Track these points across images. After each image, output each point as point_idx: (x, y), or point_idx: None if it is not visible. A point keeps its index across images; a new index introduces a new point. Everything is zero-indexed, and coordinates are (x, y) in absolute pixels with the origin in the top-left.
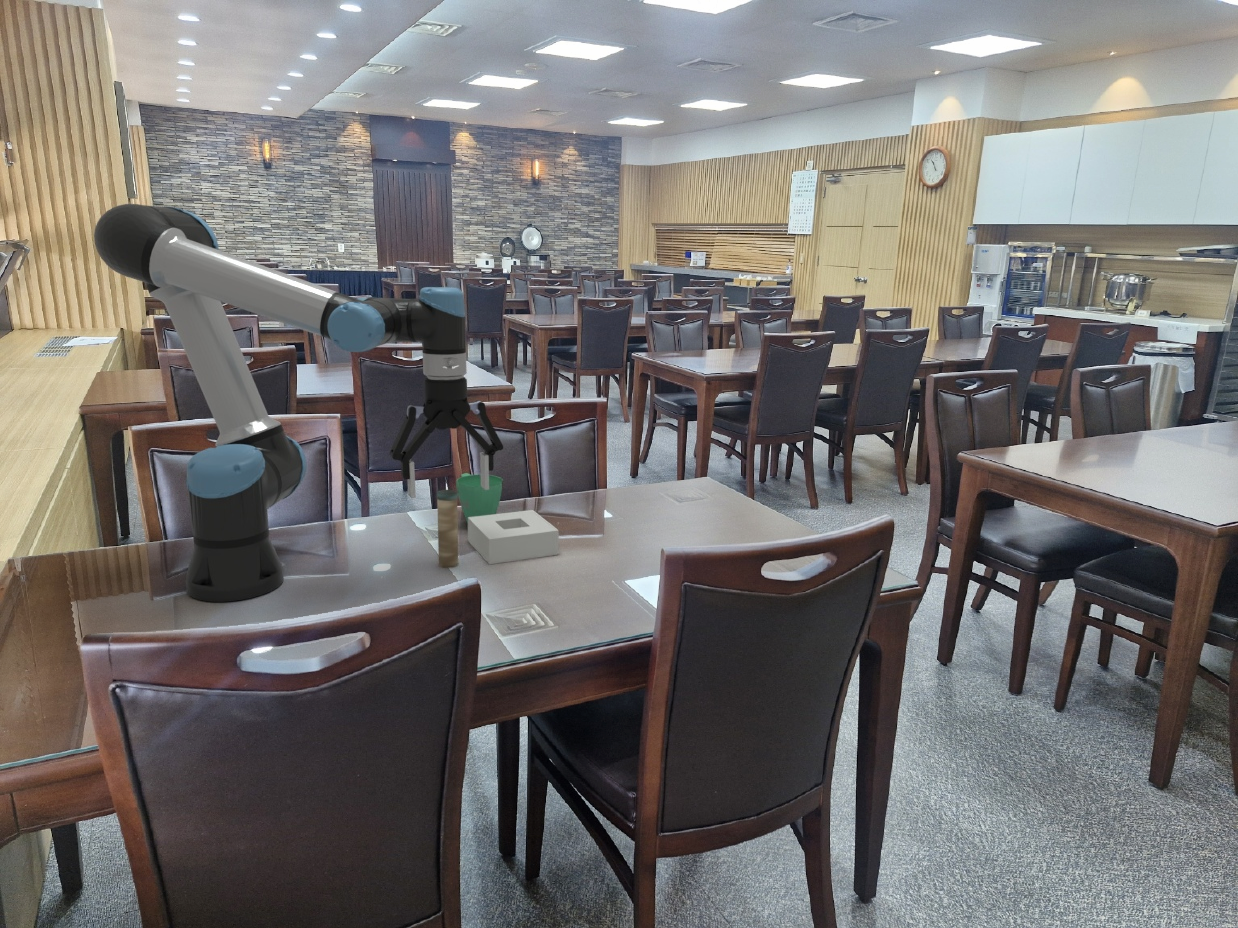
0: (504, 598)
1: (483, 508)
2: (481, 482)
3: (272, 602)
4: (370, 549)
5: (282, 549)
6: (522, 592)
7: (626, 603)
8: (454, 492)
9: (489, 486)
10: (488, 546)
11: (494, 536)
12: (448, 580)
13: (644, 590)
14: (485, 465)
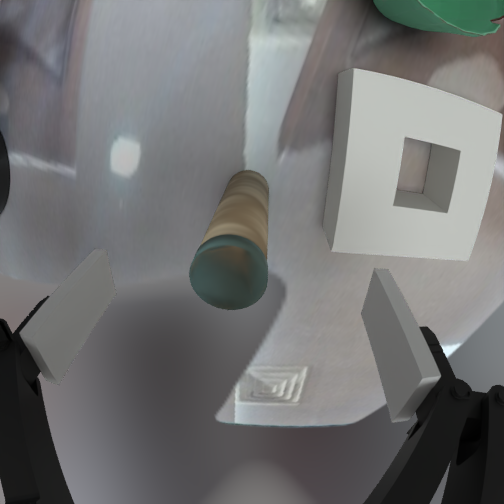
0: (280, 345)
1: (416, 26)
2: (376, 287)
3: (13, 236)
4: (120, 53)
5: (12, 38)
6: (312, 339)
7: None
8: (253, 289)
9: (465, 33)
10: (329, 236)
11: (350, 240)
12: None
13: None
14: (385, 385)
